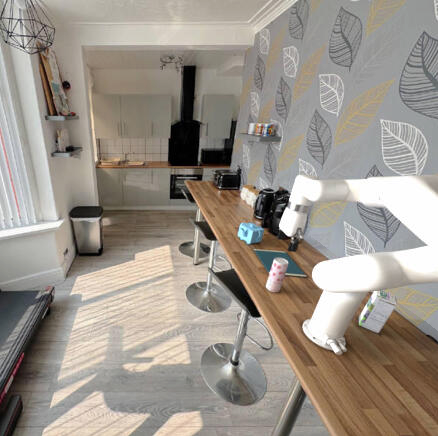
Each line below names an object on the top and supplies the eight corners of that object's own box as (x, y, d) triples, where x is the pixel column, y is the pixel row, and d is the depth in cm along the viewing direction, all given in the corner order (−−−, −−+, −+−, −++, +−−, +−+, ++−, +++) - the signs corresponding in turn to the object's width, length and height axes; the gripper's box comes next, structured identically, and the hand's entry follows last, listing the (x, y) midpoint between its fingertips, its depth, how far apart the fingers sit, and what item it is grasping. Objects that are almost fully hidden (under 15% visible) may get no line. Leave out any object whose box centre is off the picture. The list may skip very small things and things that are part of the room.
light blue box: (268, 244, 145) (272, 227, 140) (245, 248, 138) (249, 231, 134) (249, 233, 158) (253, 217, 154) (227, 236, 152) (231, 220, 147)
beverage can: (280, 294, 103) (290, 265, 97) (266, 290, 105) (275, 262, 99) (278, 286, 108) (287, 258, 102) (264, 283, 110) (273, 255, 104)
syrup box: (358, 316, 93) (374, 287, 87) (378, 324, 90) (396, 295, 84) (358, 325, 89) (375, 295, 83) (379, 334, 85) (398, 303, 80)
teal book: (307, 277, 115) (307, 276, 115) (269, 274, 116) (269, 273, 116) (284, 251, 137) (284, 251, 137) (253, 249, 138) (253, 248, 138)
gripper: (279, 199, 99) (268, 234, 106) (299, 214, 83) (286, 255, 90) (297, 200, 99) (285, 236, 106) (321, 216, 83) (306, 257, 90)
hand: (285, 245), depth 98 cm, fingers open, 9 cm apart
